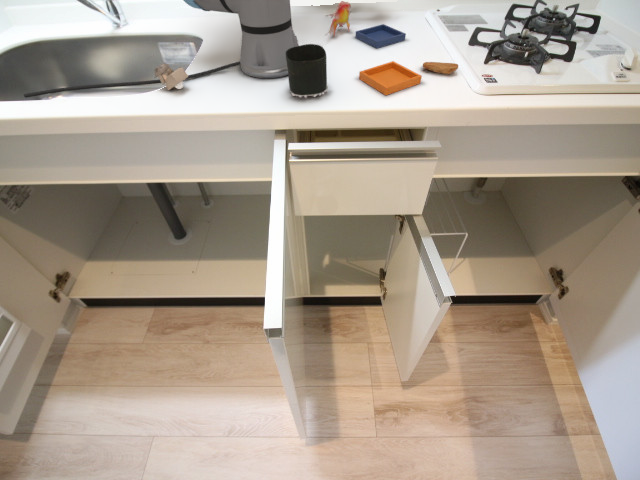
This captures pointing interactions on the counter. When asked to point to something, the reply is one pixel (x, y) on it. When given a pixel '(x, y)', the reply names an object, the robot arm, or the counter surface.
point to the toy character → (170, 76)
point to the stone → (440, 67)
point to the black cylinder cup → (307, 70)
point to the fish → (340, 16)
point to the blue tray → (380, 36)
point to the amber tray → (390, 77)
